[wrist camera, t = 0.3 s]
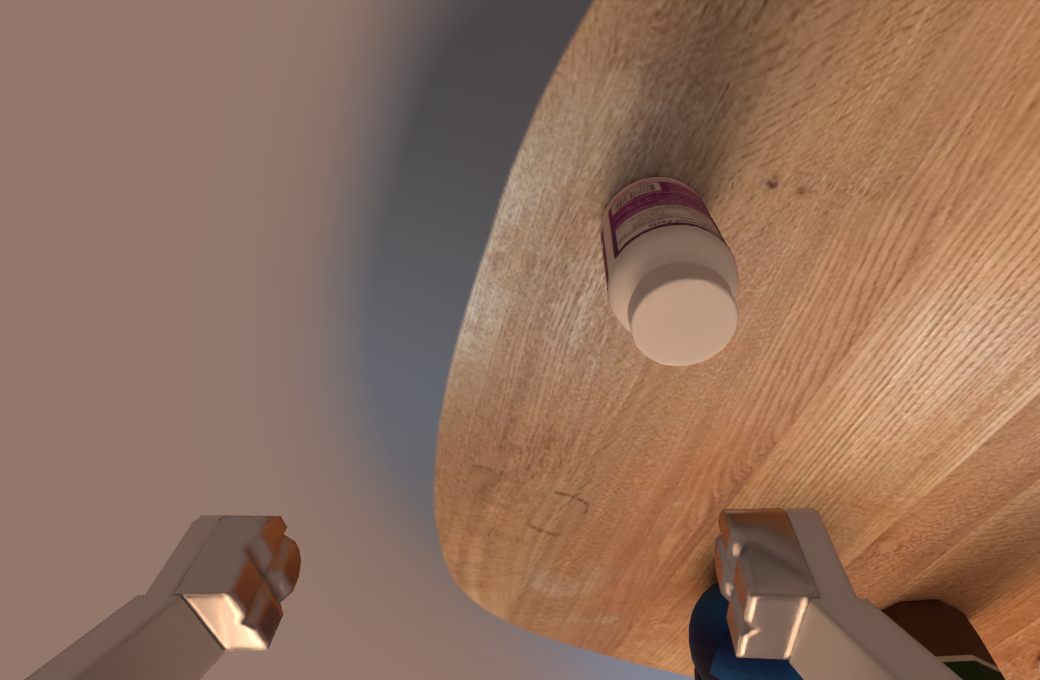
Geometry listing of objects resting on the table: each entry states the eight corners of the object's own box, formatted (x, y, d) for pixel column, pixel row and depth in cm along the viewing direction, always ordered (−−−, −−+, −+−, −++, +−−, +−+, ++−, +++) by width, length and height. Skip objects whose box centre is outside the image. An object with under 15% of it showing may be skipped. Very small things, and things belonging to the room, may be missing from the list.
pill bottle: (686, 277, 31) (728, 391, 23) (590, 262, 31) (598, 372, 23) (720, 181, 28) (782, 275, 20) (613, 164, 27) (632, 251, 20)
